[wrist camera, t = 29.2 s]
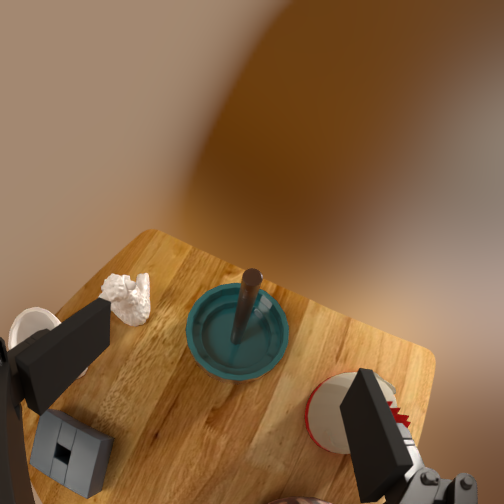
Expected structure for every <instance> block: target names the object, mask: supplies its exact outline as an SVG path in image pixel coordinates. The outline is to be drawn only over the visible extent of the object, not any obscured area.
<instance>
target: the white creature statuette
mask: <svg viewBox="0 0 504 504" xmlns="http://www.w3.org/2000/svg"><path fill="white" fill-rule="evenodd" d="M136 285H137V286H136ZM149 285H150V283H149V275H148V273H144V274H138V275H137V278H136V283H135V282H134V281H131V280H130V276H129V275H128V276H127V275H122V276H120V275H116V274H111V276H109V277H108V278H107V279H105V280H104V284H103V285H102V286H101V289H102V290H103V292H102V293H101V294H100V295H99V297H100V298H103V299H105V300H108V301H110V302H111V311H113V312H114V313H115V315H117V317H118V318H120V319H121V321H123V322H124V323H125V324H128V325H130V326H138V325H141V324H142V325H143V324H144V323H145V322H146V319H148V318H149V314H150V299H149V297H150V287H149ZM99 297H98V298H99Z"/></svg>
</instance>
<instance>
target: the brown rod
mask: <svg viewBox="0 0 504 504" xmlns="http://www.w3.org/2000/svg"><path fill="white" fill-rule="evenodd" d="M262 280H263V277H262V274H261V273H260V271H258V270H257V269H253V268H251V269H248V270H246V271H245V272H244V273H243V277H242V282H241V287H240V292H239V297H238V302H237V307H236V312H235V317H234V322H233V327H232V332H231V337H230V341H231V342H232V343H233V344H235V345H237V344H240V343H241V341H242V338H243V335H244V332H245V329H246V327H247V324H248V321H249V318H250V315H251V312H252V309H253V306H254V303H255V300H256V297H257V295H258V292H259V289H260V286H261V283H262Z"/></svg>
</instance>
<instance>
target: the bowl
mask: <svg viewBox="0 0 504 504" xmlns="http://www.w3.org/2000/svg"><path fill="white" fill-rule="evenodd" d="M240 287H241V283H231V284H224V285H219V286H217V287H215V288H213V289H211V290H209V291H207V292H206V293H205V294H203V295H202V296H201V297H200V298H199V299H198V300H197V301H196V302H195V304H194V305H193V307H192V309H191V311H190V313H189V315H188V319H187V324H186V336H187V343H188V347H189V349H190V352H191V354H192V356H193V358H194V360H195V362H196V363H197V365H198V367H200V368H201V369H202V370H203V371H204V372H205V373H206V374H207V375H208V376H209V377H212V378H214V379H216V380H218V381H220V382H222V383H229V384H237V385H238V384H244V383H249V382H253V381H255V380H257V379H259V378H260V377H262V376H264V375H266V374H267V373H268V372H269V371H271V370H272V369H273V368H274V367H275V365H276V364H277V363H278V362H279V361H280V360H281V359H282V357H283V355H284V352H285V350H286V347H287V345H288V338H289V326H288V322H287V319H286V315H285V313H284V311H283V310H282V308H281V307H280V305H279V303H278V302H277V301H276V300H275V299H274V298H273V297H272V296H270V295H269V294H268V293H267V292H266V291H264V290H262V289H259V292H258V295H257V297H256V300H255V303H254V306H253V309H252V312H251V315H250V318H249V321H248V324H247V327H246V329H245V332H244V335H243V338H242V341H241V343H240V344H237V345H235V344H233V343H232V342H231V341H230V337H231V332H232V327H233V322H234V317H235V312H236V307H237V302H238V297H239V292H240Z"/></svg>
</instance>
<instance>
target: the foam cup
mask: <svg viewBox="0 0 504 504" xmlns="http://www.w3.org/2000/svg"><path fill="white" fill-rule="evenodd" d="M59 324H61V322H60V321H59V320H58V318H57V317H56V316H55V315H53V314H52V313H51V312H50V311H48V310H46V309H42V308H40V307H33V308H29V309H25V310H24V311H23V312H22V313H21V314H20V315H18V316H17V317H16V319H15V321H14V323H13V325H12V327H11V329H10V333H9V341H8V347H9V350H11V349H12V348H13V347H15V346H16V345H18V344H19V343H21V342H22V341H24V340H25V339H26V338H28V337H30V336H31V335H32V334H34V333H35V332H37V331H39V330H43V329H46V328H47V329H49V330H52V329H54V328H55V327H56V326H58V325H59ZM87 368H88V367H87ZM87 368H86V369H85V370H84V371H83V372H82V373H81V375H80V376H79V377H78V378H77V379H79V378H80V377H82V376H83V375H84V374H85V373H86V370H87Z"/></svg>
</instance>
